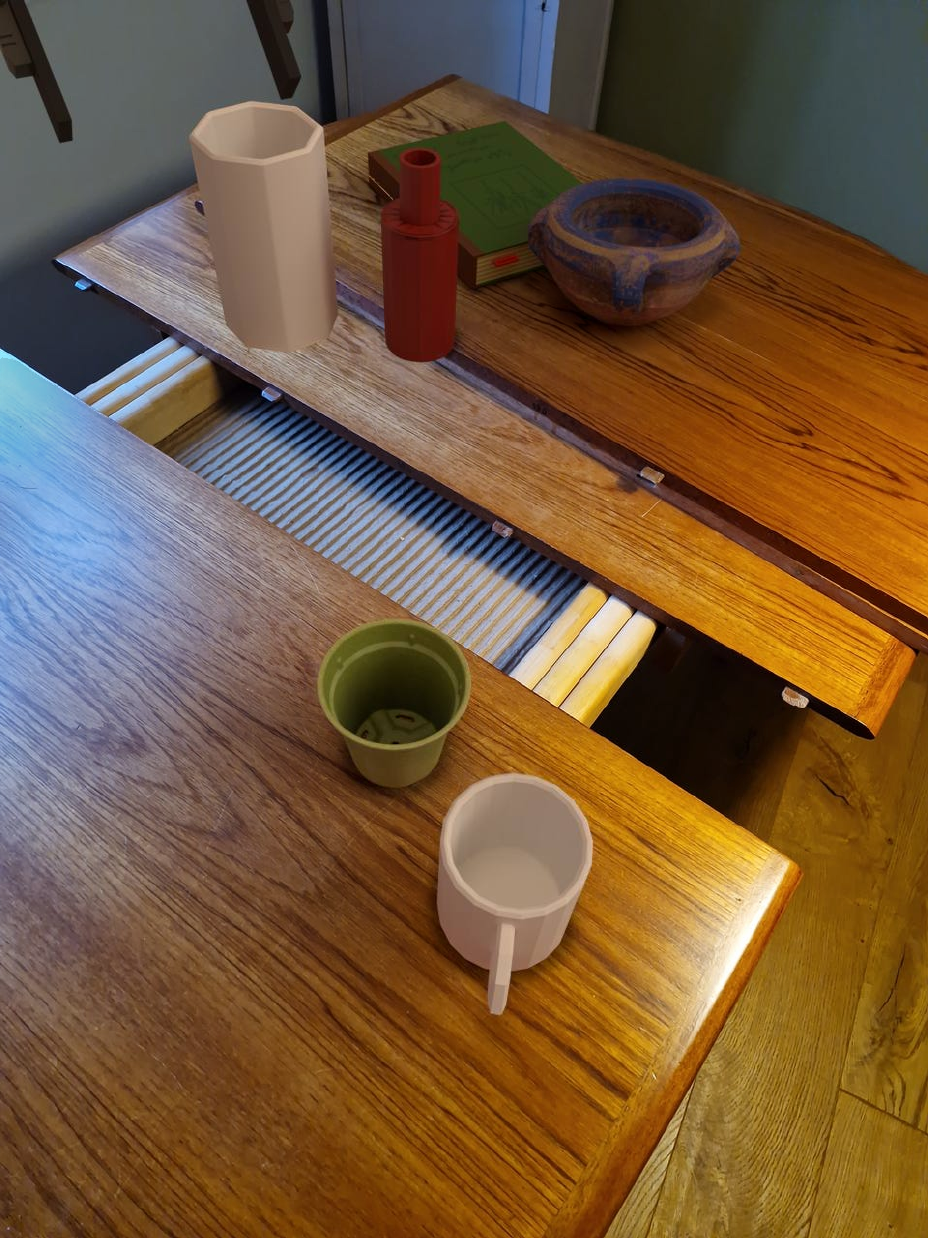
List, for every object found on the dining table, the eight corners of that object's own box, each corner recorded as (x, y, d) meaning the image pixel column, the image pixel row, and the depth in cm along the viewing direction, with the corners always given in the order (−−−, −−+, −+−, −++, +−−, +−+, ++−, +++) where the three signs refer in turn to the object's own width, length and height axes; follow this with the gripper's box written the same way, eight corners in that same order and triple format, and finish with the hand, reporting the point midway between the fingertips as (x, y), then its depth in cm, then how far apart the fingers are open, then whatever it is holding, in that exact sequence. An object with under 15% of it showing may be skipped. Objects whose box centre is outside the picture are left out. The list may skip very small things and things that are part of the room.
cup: (292, 369, 85) (265, 176, 70) (202, 328, 88) (159, 135, 74) (360, 312, 91) (349, 123, 76) (274, 276, 94) (248, 88, 80)
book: (369, 184, 107) (367, 152, 104) (502, 151, 113) (505, 120, 110) (475, 292, 94) (477, 260, 91) (619, 249, 100) (625, 217, 97)
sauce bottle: (378, 356, 87) (370, 171, 73) (394, 316, 91) (389, 133, 77) (446, 366, 86) (452, 182, 72) (459, 325, 91) (467, 143, 76)
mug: (416, 1032, 50) (416, 985, 43) (447, 834, 58) (452, 762, 50) (558, 1055, 50) (584, 1011, 42) (572, 852, 57) (596, 783, 49)
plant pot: (478, 706, 64) (485, 635, 57) (447, 827, 58) (451, 764, 51) (352, 678, 65) (344, 605, 58) (309, 794, 59) (295, 728, 52)
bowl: (630, 236, 102) (648, 146, 94) (740, 317, 93) (770, 226, 85) (501, 280, 96) (509, 188, 88) (606, 372, 87) (625, 279, 79)
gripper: (239, -257, 56) (358, 100, 60) (-208, -233, 47) (-33, 178, 52) (260, -371, 49) (392, 41, 53) (-259, -367, 40) (-52, 121, 45)
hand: (183, 110), depth 52 cm, fingers open, 13 cm apart
